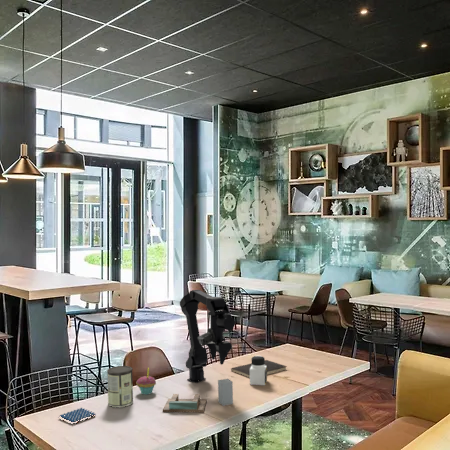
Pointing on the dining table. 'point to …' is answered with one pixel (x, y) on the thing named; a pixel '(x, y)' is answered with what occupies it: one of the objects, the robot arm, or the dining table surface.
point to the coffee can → (120, 386)
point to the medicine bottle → (258, 371)
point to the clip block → (225, 392)
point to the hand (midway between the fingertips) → (217, 361)
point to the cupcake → (146, 383)
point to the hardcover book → (271, 366)
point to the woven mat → (77, 415)
